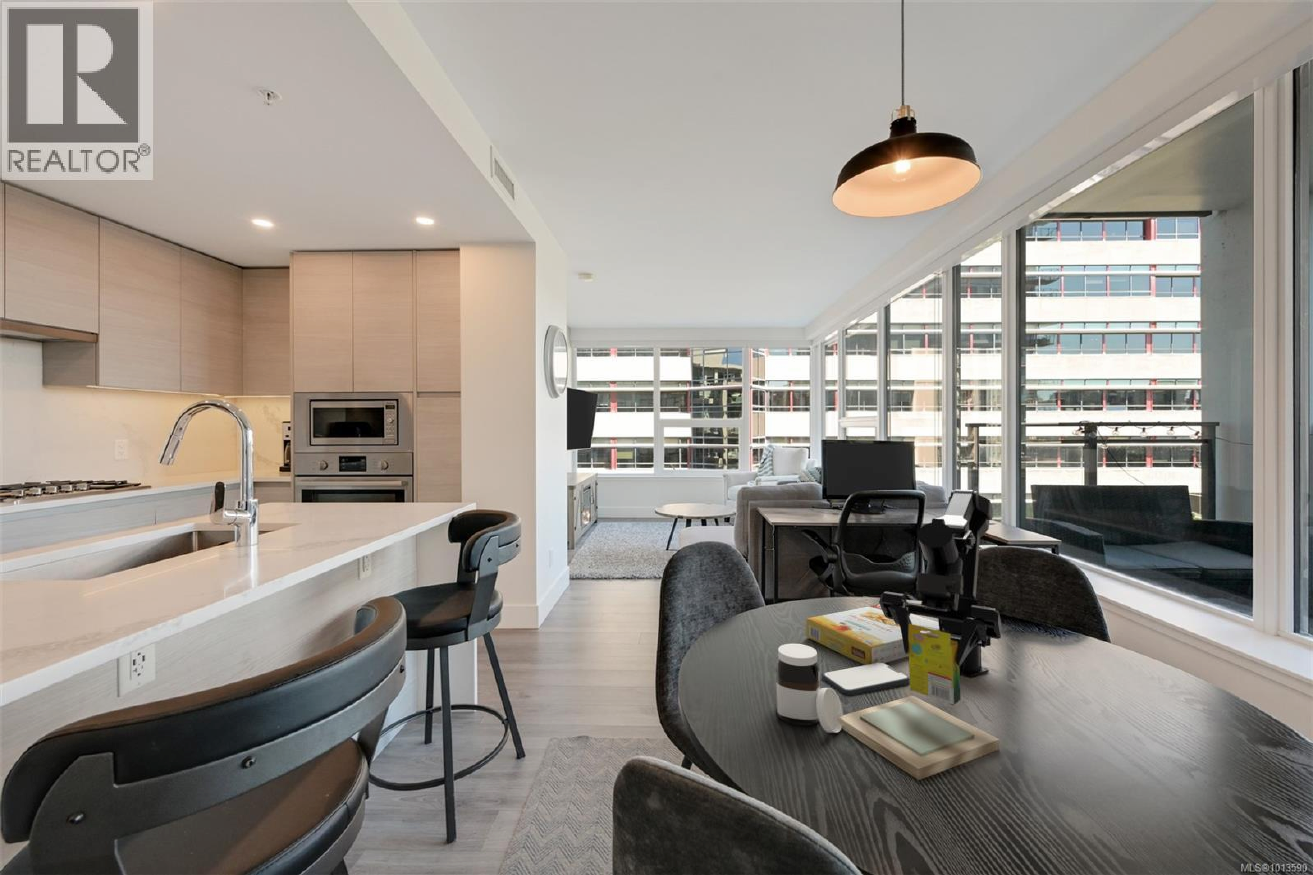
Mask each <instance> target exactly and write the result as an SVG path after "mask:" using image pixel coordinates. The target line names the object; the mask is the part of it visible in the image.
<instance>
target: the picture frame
mask: <svg viewBox="0 0 1313 875" xmlns="http://www.w3.org/2000/svg"><path fill="white" fill-rule="evenodd" d="M839 722H840V724H841V725H842V728H841V730H843V731H845V732H846V733H848V734H849V735H851V736H852V737H854V738H855V739H857V740H858V741H859V742H861V743H862V744H864V745H865V746H867V747H868V748H869V749H871V750H872V751H875V752H876V753H877V754H879V755H881V757H884V758H885V759H886V760H888V761H889V762H891V763H892V764H894V765H895V766H897V767H898V768H899V769H901V770H902V771H904V772H906V773H908V774H909V775H910V776H911V777H913V778H915V779H916V780H918V781H920V780H924V779H925V778H928V777H931V776H933V775H937V774H939V773H941V772H944V771H947V770H949V769H951V768H955V767H957V766H959V765H960V766H961V765H963V764H964V763H967V762H970V761H973V760H975V759H979V758H981V757H983V755H984V756H986V755H988V754H991V753H993V752H997V751H1000V739H999V738H997V737H995V736H993V735H992V734H990V733H988V732H985V731H983V730H981V729H979V728H977V727H976V726H974V725H971V724H969V723H967V722H965V721H964V720H961V719H960V718H958V717H955V716H954V715H952V714H950V713H948V712H946V711H944V710H942V709H940V708H938V707H936V706H934V705H932V704H931V703H928V702H926V701H924V700H922V699H921V698H918V697H916V696H914V695H909V696H906V697H903V698H899V699H896V700H892V701H888V702H885V703H882V704H881V703H880V704H877V705H874V706H871V707H867V708H864V709H861V710H857V711H853V712H850V713H846V714H843V716H839V717H838V723H839Z"/></svg>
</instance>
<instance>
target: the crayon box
mask: <svg viewBox="0 0 1313 875" xmlns="http://www.w3.org/2000/svg"><path fill="white" fill-rule="evenodd" d="M920 631H926V632H927V631H930V632H931V633H933V634H937V635H938V637H936V636H933V635H929V634H925V633H921V632H920ZM908 633H909V634H908V643H909V656H908V669H909V671H908V672H909V679H910V683H909V690H910V691H911V692H916V693H919V694H922V695H924V696H927V697H930V698H933V699H934V700H935V699H936V700H939V701H941V702H945V703H947V704H949V705H951V706H955V704H957V703H958V702H960V701H961V675H960V669H959V665H957V653H958V648H959V644H958V642H957V641H953V640H951V634H949V633H945V632H941V631H937V630H933V629H929V628H925V627H921V626H917V625H913V624H909V629H908Z"/></svg>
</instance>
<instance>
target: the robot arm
mask: <svg viewBox="0 0 1313 875" xmlns="http://www.w3.org/2000/svg"><path fill="white" fill-rule="evenodd" d="M993 509H994V508H993V504H992V503H991V500H990V499H989V498H987V497H984V496H982V495H980V494H979V492H978V491H976V490H973V489H954V490H951V492H950V496H949V497H948V501H947V507H946V509H945V512H944V514H943V516H940V517H936V518H931V522H928V523H926V524H924V525H922V527H920V528H919V529H918V530H917V539H918V542H919V546H920V548H921V551H922V554H923V557H924V559H925V561H927V566H926V572H917V576H916V579H917V580H916V589H915V590H916V592H917V598H918V600H919V601H921V602H920V603H913V602H908V601H907V598H906V595H905V594H904V593H899V592H898V593H897V592H894V591H893V592H891V591H887V590H885V591H884V592H882V593H881V594H880V597H879V601H878V605H879V604H880V606H881V608H882V611H883V613H884V615H885V617H887V618H888V619H893V620H894V622H895V623H896V624H899V625H900V628H901V634H902V639H903V645H904V651H905V653H906V654H908V652H909V643H908V634H909V633H908V629H909V624H912V623H911V620H910V618H909V616H910V614H914V615H917V616H920V617H928V618H934V619H937V622H938V623H939V631H941V632H945V633H949V634H951V640H953V641H957V642H958V644H959V648H958V653H957V665H959V669H960V674H961V675H963V676H965V677H968V678H971V677H974V676H979V675H983V674H986V673H989V668H987V667H985V666H982V648H984V649H985V648H986V647H990V646H991V645H992V639H994V640H995V639H996V640H999V639H1002V620H1001V616H1000V612H999V611H998V610H997V608H994V607H989V606H982V605H980V604H979V602H978V601H977V599H976V598H977V597H976V596H977V587H978V586H977V585H978V584H977V583H978V573H979V572H978V569H979V555H980V540H981V538H982V537H983V536H984V535H985V534H986V533H987V532H988V531H989V527H990V521H993V517H994V510H993Z"/></svg>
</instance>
